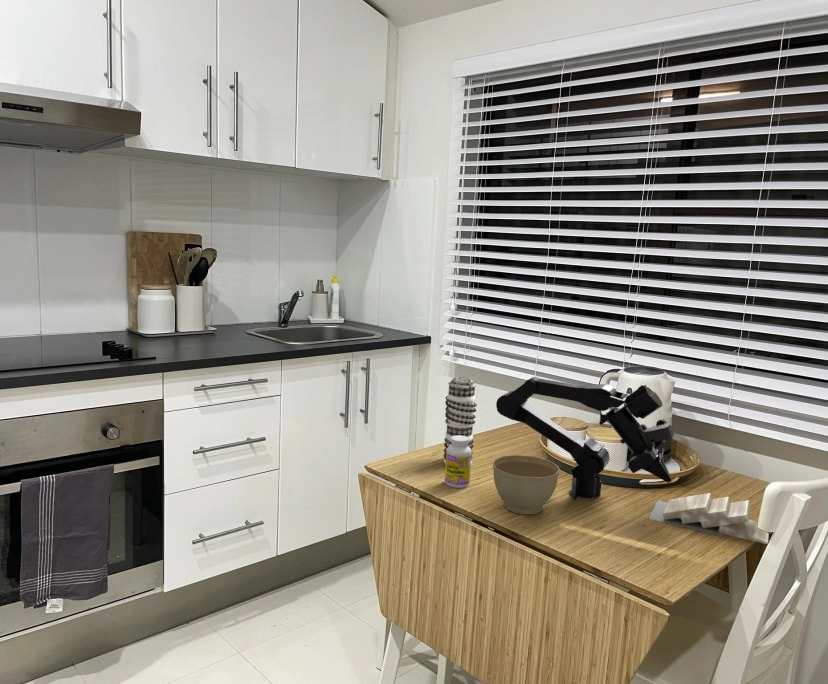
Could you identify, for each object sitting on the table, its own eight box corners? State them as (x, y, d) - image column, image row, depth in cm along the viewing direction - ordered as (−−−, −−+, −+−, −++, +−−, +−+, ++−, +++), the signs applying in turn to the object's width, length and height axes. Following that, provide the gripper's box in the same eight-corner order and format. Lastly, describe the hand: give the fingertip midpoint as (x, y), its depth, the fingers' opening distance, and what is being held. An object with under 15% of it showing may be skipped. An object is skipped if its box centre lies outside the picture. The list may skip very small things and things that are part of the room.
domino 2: (680, 517, 154) (725, 510, 149) (686, 503, 163) (728, 496, 158) (682, 524, 154) (727, 517, 149) (688, 509, 163) (730, 502, 158)
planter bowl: (568, 509, 162) (572, 467, 161) (530, 527, 151) (533, 482, 149) (516, 489, 174) (519, 450, 172) (476, 505, 162) (479, 463, 161)
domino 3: (700, 521, 152) (746, 514, 147) (705, 506, 161) (748, 500, 156) (702, 528, 152) (748, 521, 147) (707, 513, 161) (750, 506, 156)
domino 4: (720, 525, 150) (768, 542, 146) (723, 510, 159) (769, 526, 154) (718, 531, 150) (766, 548, 146) (721, 516, 159) (767, 532, 154)
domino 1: (662, 513, 156) (705, 506, 151) (669, 499, 165) (710, 492, 160) (664, 519, 156) (708, 513, 151) (671, 505, 165) (712, 499, 160)
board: (648, 522, 156) (648, 518, 156) (657, 504, 168) (657, 500, 168) (721, 540, 149) (722, 535, 149) (725, 519, 160) (726, 515, 160)
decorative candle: (435, 460, 193) (439, 377, 189) (459, 454, 199) (464, 374, 195) (455, 469, 186) (460, 383, 182) (479, 464, 192) (484, 380, 188)
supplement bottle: (441, 485, 174) (443, 439, 172) (449, 477, 180) (451, 432, 178) (465, 490, 171) (468, 443, 169) (472, 482, 177) (475, 436, 175)
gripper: (648, 419, 151) (693, 476, 147) (661, 403, 167) (702, 453, 163) (610, 445, 156) (653, 500, 152) (626, 426, 172) (665, 476, 169)
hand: (670, 481), depth 159 cm, fingers closed
